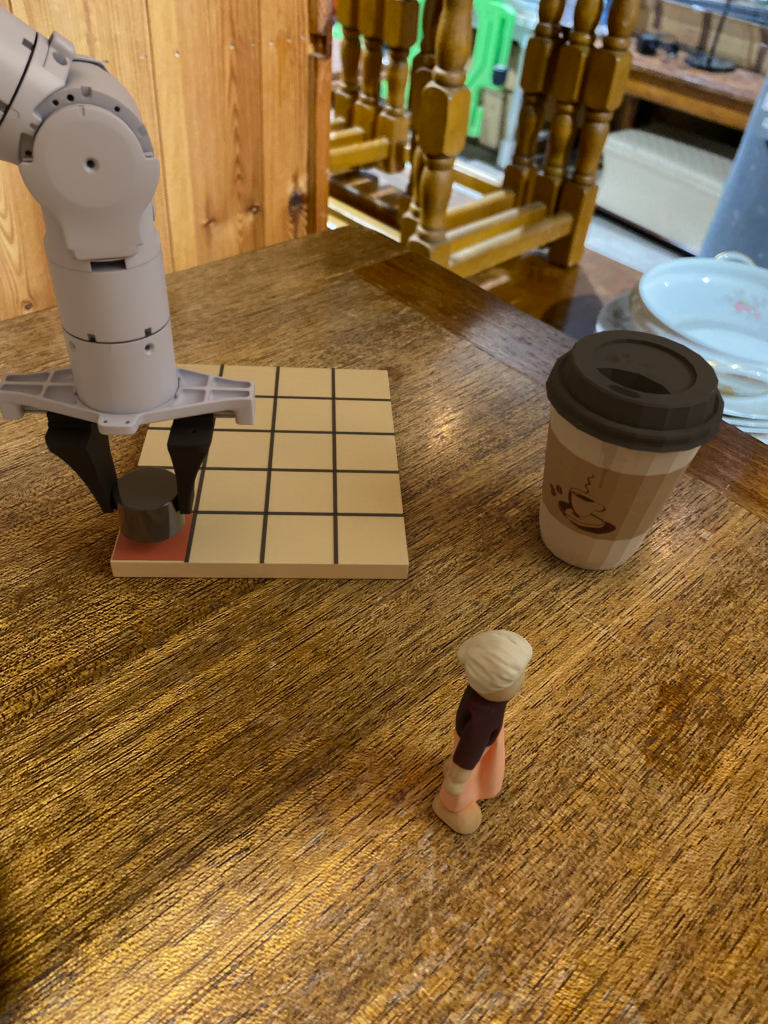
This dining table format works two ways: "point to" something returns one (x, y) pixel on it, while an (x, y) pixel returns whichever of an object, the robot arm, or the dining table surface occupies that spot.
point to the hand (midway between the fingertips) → (148, 503)
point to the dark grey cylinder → (147, 505)
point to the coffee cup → (620, 441)
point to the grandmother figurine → (481, 726)
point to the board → (287, 485)
